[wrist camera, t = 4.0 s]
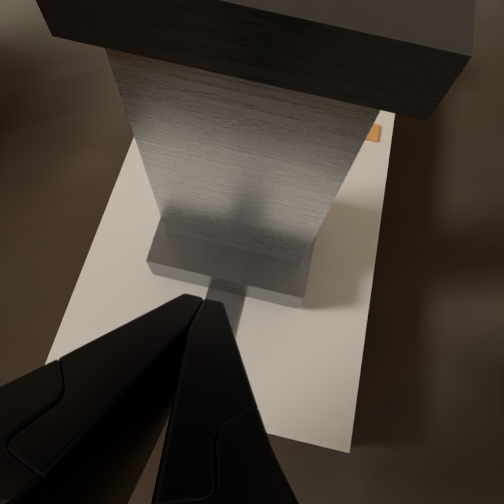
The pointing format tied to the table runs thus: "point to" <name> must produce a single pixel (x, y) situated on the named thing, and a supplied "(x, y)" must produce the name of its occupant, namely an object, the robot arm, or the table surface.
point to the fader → (261, 115)
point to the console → (253, 310)
